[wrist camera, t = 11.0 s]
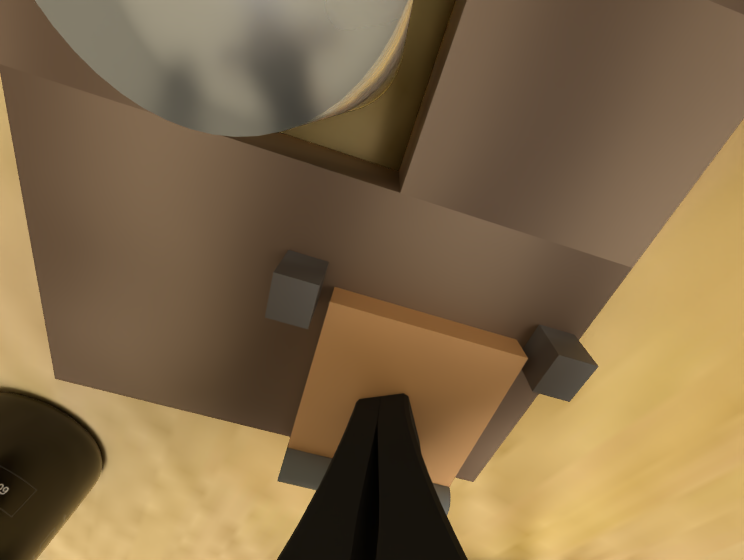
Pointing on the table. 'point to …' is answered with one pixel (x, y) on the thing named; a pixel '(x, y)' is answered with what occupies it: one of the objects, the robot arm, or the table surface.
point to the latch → (400, 384)
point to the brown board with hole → (368, 204)
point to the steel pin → (239, 56)
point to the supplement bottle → (40, 473)
